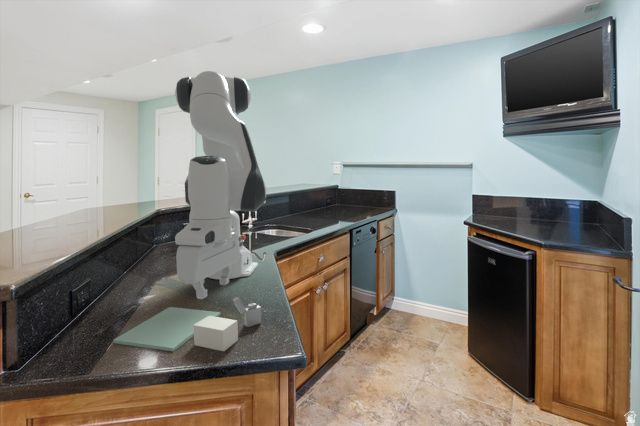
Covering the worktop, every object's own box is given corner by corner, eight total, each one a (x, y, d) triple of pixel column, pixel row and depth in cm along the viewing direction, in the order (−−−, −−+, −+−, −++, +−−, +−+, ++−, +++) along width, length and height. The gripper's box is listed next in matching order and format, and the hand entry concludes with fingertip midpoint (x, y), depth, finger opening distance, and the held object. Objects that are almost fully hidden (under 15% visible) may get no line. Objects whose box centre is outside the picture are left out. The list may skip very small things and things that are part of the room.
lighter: (258, 320, 95) (257, 291, 94) (261, 322, 94) (260, 293, 93) (233, 328, 91) (232, 297, 90) (236, 330, 90) (234, 299, 89)
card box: (210, 335, 88) (209, 315, 87) (238, 340, 85) (237, 320, 84) (194, 345, 83) (193, 324, 82) (223, 352, 80) (222, 330, 79)
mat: (169, 309, 103) (169, 306, 103) (220, 315, 99) (220, 312, 99) (113, 343, 84) (113, 339, 84) (173, 351, 80) (173, 348, 80)
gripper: (222, 222, 91) (224, 276, 93) (169, 238, 71) (173, 305, 73) (245, 223, 89) (247, 278, 91) (197, 239, 70) (200, 308, 71)
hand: (213, 290), depth 82 cm, fingers open, 8 cm apart
